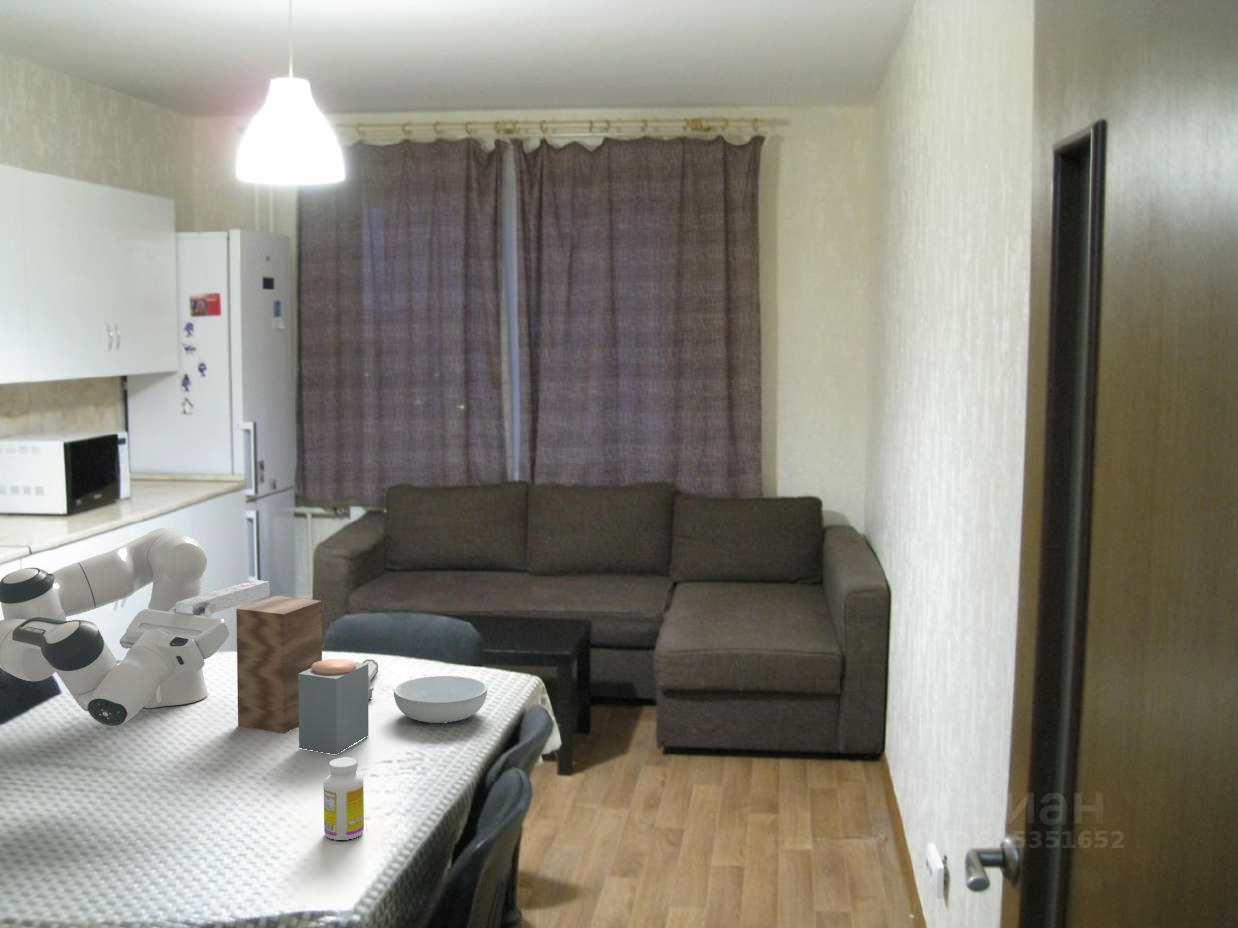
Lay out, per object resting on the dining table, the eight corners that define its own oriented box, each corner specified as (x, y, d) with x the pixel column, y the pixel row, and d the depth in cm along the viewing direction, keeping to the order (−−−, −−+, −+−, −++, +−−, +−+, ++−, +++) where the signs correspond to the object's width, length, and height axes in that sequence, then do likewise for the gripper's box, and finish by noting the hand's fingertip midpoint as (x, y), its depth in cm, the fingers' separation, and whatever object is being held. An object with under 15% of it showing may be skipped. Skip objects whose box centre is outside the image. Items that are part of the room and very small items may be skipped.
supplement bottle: (367, 826, 209) (366, 755, 207) (360, 842, 202) (359, 769, 201) (328, 826, 208) (328, 754, 207) (320, 842, 202) (319, 768, 200)
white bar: (176, 617, 232) (175, 602, 232) (253, 593, 255) (253, 579, 255) (192, 619, 231) (192, 604, 231) (269, 595, 254) (269, 581, 253)
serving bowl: (495, 705, 278) (496, 676, 277) (475, 735, 257) (476, 704, 256) (408, 700, 280) (408, 672, 279) (381, 730, 259) (381, 699, 258)
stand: (238, 725, 259) (236, 608, 256) (277, 707, 272) (276, 595, 270) (284, 733, 255) (283, 614, 252) (322, 714, 268) (321, 600, 265)
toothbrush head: (381, 657, 302) (372, 672, 277) (380, 684, 302) (372, 700, 277) (360, 657, 301) (349, 672, 277) (359, 684, 301) (349, 701, 276)
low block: (299, 749, 246) (298, 669, 244) (332, 731, 257) (331, 655, 255) (336, 755, 243) (336, 674, 241) (368, 737, 254) (368, 660, 252)
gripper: (121, 657, 231) (164, 609, 241) (208, 670, 224) (248, 620, 234) (108, 633, 227) (152, 586, 238) (196, 646, 220) (237, 596, 231)
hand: (200, 603), depth 236 cm, fingers closed on white bar, 4 cm apart
